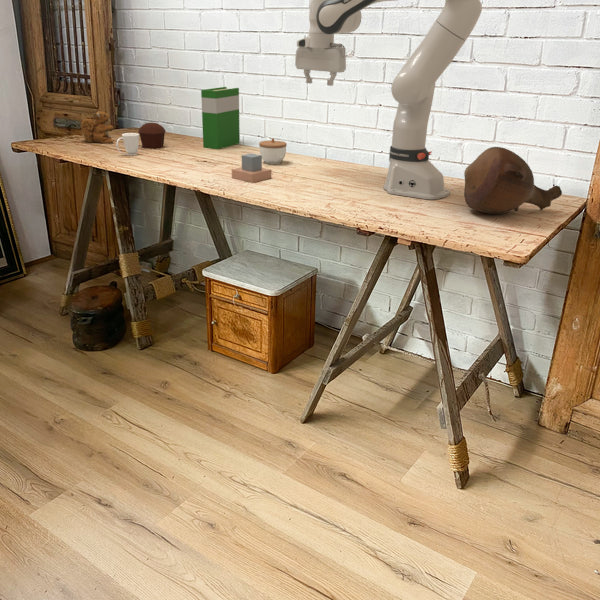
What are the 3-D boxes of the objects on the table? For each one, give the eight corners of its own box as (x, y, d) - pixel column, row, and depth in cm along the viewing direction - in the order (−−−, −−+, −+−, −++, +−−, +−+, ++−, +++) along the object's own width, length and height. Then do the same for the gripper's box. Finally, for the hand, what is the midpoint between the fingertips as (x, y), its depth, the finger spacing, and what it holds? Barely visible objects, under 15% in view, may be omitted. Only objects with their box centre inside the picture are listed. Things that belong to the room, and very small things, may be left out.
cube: (261, 169, 221) (261, 155, 219) (252, 171, 218) (252, 157, 215) (251, 167, 224) (251, 153, 222) (241, 169, 220) (241, 155, 218)
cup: (144, 154, 254) (142, 134, 251) (122, 157, 248) (120, 137, 245) (135, 152, 259) (133, 132, 256) (113, 154, 253) (111, 134, 249)
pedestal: (271, 177, 223) (271, 169, 221) (252, 182, 216) (252, 174, 214) (251, 173, 228) (251, 165, 227) (231, 177, 221) (231, 169, 220)
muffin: (134, 148, 266) (132, 124, 262) (145, 143, 276) (144, 120, 272) (160, 150, 264) (158, 125, 260) (170, 145, 274) (169, 122, 270)
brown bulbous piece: (458, 219, 181) (554, 237, 185) (483, 157, 170) (585, 177, 173) (445, 189, 197) (533, 205, 201) (467, 130, 186) (559, 149, 190)
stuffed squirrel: (114, 143, 275) (111, 112, 270) (81, 144, 272) (77, 113, 266) (115, 139, 284) (112, 109, 278) (82, 140, 281) (79, 110, 275)
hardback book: (226, 141, 286) (224, 86, 276) (239, 143, 283) (238, 87, 273) (203, 147, 272) (201, 89, 262) (217, 149, 268) (215, 91, 259)
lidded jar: (261, 165, 241) (261, 141, 237) (257, 160, 250) (257, 136, 246) (288, 165, 243) (289, 140, 239) (283, 159, 252) (283, 136, 249)
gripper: (350, 43, 212) (348, 86, 218) (304, 41, 224) (303, 81, 229) (340, 43, 207) (337, 87, 213) (293, 41, 219) (292, 82, 225)
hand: (319, 84), depth 221 cm, fingers open, 8 cm apart
